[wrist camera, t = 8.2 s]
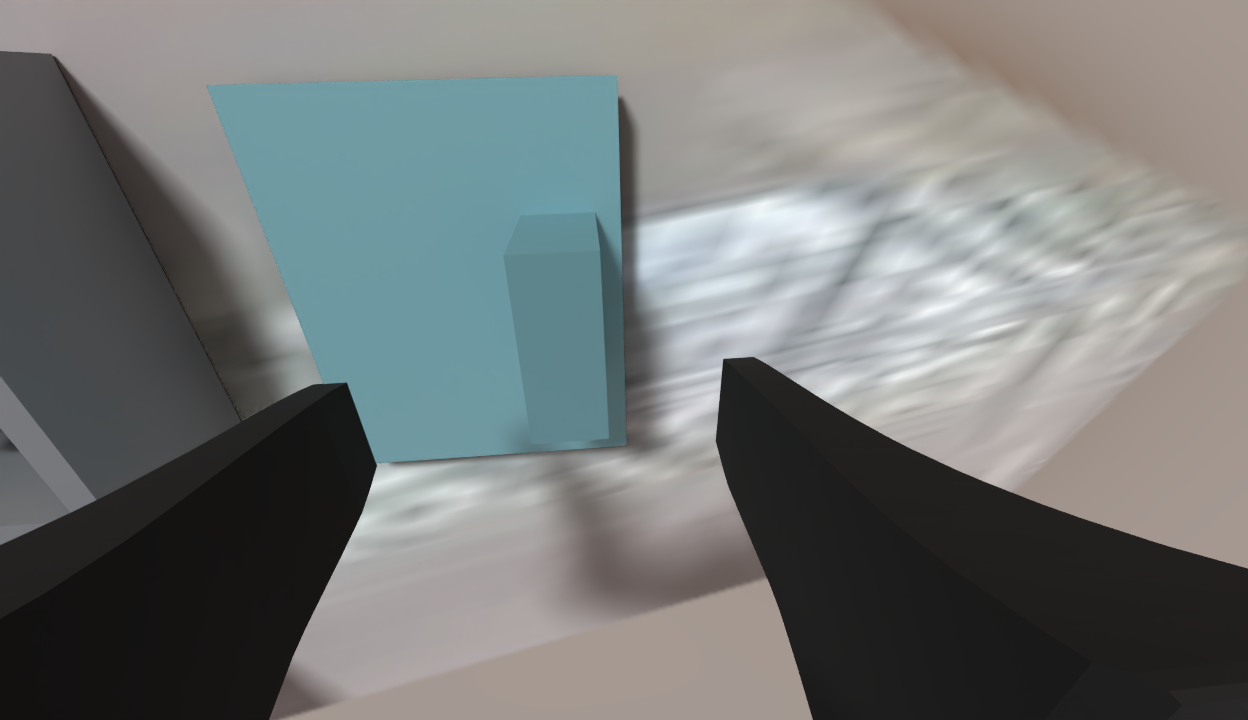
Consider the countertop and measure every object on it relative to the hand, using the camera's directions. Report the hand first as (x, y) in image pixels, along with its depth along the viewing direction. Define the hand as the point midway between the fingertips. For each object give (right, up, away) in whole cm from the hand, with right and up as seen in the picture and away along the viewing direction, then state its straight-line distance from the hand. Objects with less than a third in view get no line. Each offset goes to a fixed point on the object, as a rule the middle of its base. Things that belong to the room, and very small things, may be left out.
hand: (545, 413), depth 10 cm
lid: (-3, +3, +5) cm, 7 cm away
